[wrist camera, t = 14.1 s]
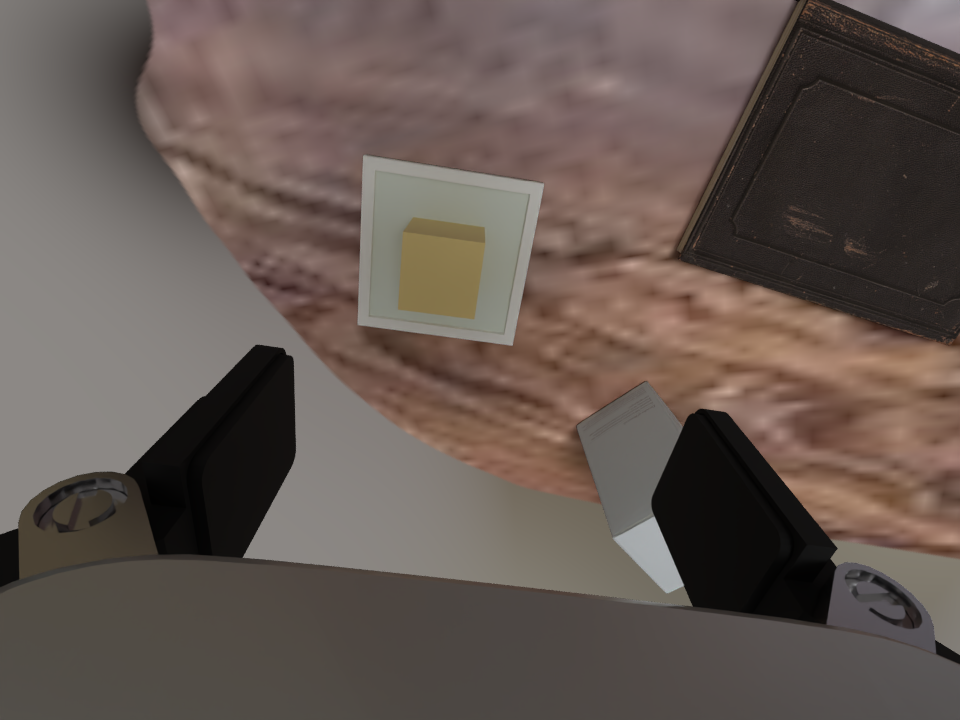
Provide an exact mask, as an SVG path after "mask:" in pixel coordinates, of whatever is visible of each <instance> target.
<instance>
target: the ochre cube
mask: <svg viewBox="0 0 960 720" xmlns="http://www.w3.org/2000/svg"><path fill="white" fill-rule="evenodd" d="M484 250H485V227H480V226H473V225H466V224H459V223H452V222H445V221H438V220H431V219H424V218H417V217H413V218H412V220H411V221H410V222H409V224H408V225H407V227H406V228H405V229H404V231H403V238H402V253H401V268H400V284H399V299H398V310H405V311H413V312H420V313H428V314H436V315H444V316H451V317H459V318H467V319H475V312H476V305H477V298H478V291H479V284H480V278H481V271H482V264H483V257H484Z"/></svg>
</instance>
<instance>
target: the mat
mask: <svg viewBox="0 0 960 720" xmlns="http://www.w3.org/2000/svg"><path fill="white" fill-rule="evenodd" d="M543 188H544V183H543V182H537V181H531V180H525V179H519V178H512V177H506V176H500V175H493V174H487V173H481V172H474V171H468V170H462V169H455V168H449V167H443V166H437V165H430V164H424V163H418V162H411V161H405V160H399V159H392V158H386V157H380V156H373V155H367V154H366V155H363V176H362V206H361V236H360V266H359V296H358V325H362V326H370V327H377V328H384V329H392V330H399V331H407V332H414V333H422V334H429V335H437V336H444V337H452V338H459V339H467V340H474V341H482V342H489V343H497V344H504V345H511V346H513V341H514V335H515V330H516V325H517V320H518V315H519V310H520V305H521V300H522V295H523V290H524V285H525V280H526V275H527V270H528V264H529V259H530V254H531V249H532V244H533V239H534V234H535V229H536V224H537V219H538V214H539V209H540V204H541V199H542V193H543ZM413 217H417V218H424V219H431V220H438V221H445V222H452V223H459V224H466V225H473V226H480V227H485V250H484V257H483V264H482V271H481V278H480V284H479V291H478V298H477V305H476V312H475V319H467V318H459V317H451V316H444V315H436V314H428V313H420V312H413V311H405V310H398V299H399V284H400V268H401V253H402V238H403V231H404V229H405V228H406V227H407V225H408V224H409V222H410V221H411V220H412V218H413Z"/></svg>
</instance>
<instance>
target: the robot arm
mask: <svg viewBox="0 0 960 720" xmlns="http://www.w3.org/2000/svg"><path fill="white" fill-rule="evenodd" d="M294 398H295V397H294V361H293V357H292V356H289V355H286V352H285V350H284V349H283V348H278V347H270V346H264V345H255V347H253V348H252V349H251V350H250V351H249V352H248V353H247V354H246V355H245V356H244V357H243V358H242V359H241V360H240V361H239V362H238V363H237V364H236V365H235V367H234V368H233V369H232V370H231V371H230V372H229V373H228V374H227V375H226V376H225V377H224V378H223V379H222V380H221V381H220V382H219V383H218V384H217V385H216V386H215V387H214V388H213V389H212V390H211V391H210V392H209V393H208V394H207V395H206V396H204V397H202V398H200V399H199V400H197V402H195V404H193V405H192V407H191V408H189V410H188V411H187V412H186V413H185V414H184V415H183V416H182V417H181V418H180V419H179V420H178V421H177V422H176V423H175V424H174V425H173V426H172V427H171V428H170V429H169V430H168V431H167V432H166V433H165V434H164V435H163V436H162V437H161V438H160V439H159V440H158V441H157V442H156V443H155V444H154V445H153V446H152V447H151V448H150V449H149V450H148V451H147V452H146V453H145V454H144V455H143V456H142V457H141V458H140V459H139V460H138V461H137V462H136V463H135V464H134V465H133V466H132V467H131V468H130V469H129V470H128V471H127V472H126V473H125V474H121V473H116V472H93V473H88V474H82V475H77V476H75V477H72V478H69V479H66V480H63V481H60V482H58V483H56V484H54V485H52V486H51V487H49V488H47V489H45V490H43V491H42V492H41V493H39V494H38V495H37V496H35V497H34V498H33V499H31V500H30V501H29V503H28V504H27V505H26V506H25V508H24V509H23V510H22V512H21V515H20V518H19V522H18V529H15V530H12V531H9V532H6V533H4V534H0V720H960V655H959V654H957V653H955V652H954V651H952V650H951V649H949V648H947V647H945V646H944V645H942V644H941V643H939V642H937V641H936V640H935V635H934V626H933V623H932V620H931V617H930V615H929V614H928V612H927V611H926V609H925V608H924V606H923V605H922V604H921V603H920V602H919V601H918V600H917V599H916V598H915V596H914V595H913V594H912V593H911V592H909V591H908V590H907V589H905V588H904V587H903V586H902V585H901V584H899V583H898V582H896V581H895V580H893V579H892V578H890V577H888V576H886V575H885V574H883V573H882V572H879V571H877V570H875V569H873V568H871V567H869V566H865V565H862V564H858V563H848V562H845V563H843V564H840V565H838V566H837V567H836V566H835V564H834V563H833V562H832V560H831V559H830V558H831V557H832V555H833V554H834V553H835V551H836V550H837V547H836V546H835V545H834V543H833V542H832V541H831V540H830V539H829V537H828V536H827V535H826V534H825V532H824V531H823V530H822V529H821V527H820V526H819V525H818V524H817V523H816V521H815V520H814V519H813V518H812V516H811V515H810V514H809V513H808V512H807V510H806V509H805V508H804V507H803V505H802V504H801V503H800V502H799V500H798V499H797V498H796V497H795V496H794V494H793V493H792V492H791V491H790V489H789V488H788V487H787V486H786V485H785V483H784V482H783V481H782V480H781V478H780V477H779V476H778V475H777V473H776V472H775V471H774V470H773V469H772V467H771V466H770V465H769V464H768V462H767V461H766V460H765V459H764V458H763V456H762V455H761V454H760V453H759V451H758V450H757V449H756V448H755V446H754V445H753V444H752V443H751V442H750V440H749V439H748V438H747V437H746V435H745V434H744V433H743V432H742V431H741V429H740V428H739V427H738V426H737V424H736V423H735V422H734V421H733V419H732V418H731V417H730V416H729V415H728V414H727V413H726V412H721V411H714V410H707V409H699V410H698V411H696V412H695V414H690V415H689V416H688V418H687V420H686V422H685V424H684V426H683V428H682V431H681V433H680V435H679V437H678V440H677V442H676V444H675V446H674V449H673V451H672V453H671V455H670V457H669V460H668V462H667V464H666V466H665V469H664V471H663V473H662V475H661V478H660V480H659V482H658V484H657V487H656V489H655V491H654V493H653V496H652V500H651V507H652V512H653V514H654V516H655V519H656V521H657V524H658V526H659V528H660V531H661V533H662V535H663V538H664V540H665V542H666V545H667V547H668V549H669V552H670V554H671V556H672V559H673V561H674V563H675V566H676V568H677V570H678V573H679V575H680V577H681V580H682V582H683V584H684V587H685V589H686V591H687V594H688V596H689V599H690V601H691V603H692V605H693V607H691V606H683V605H675V604H666V603H658V602H649V601H640V600H633V599H624V598H616V597H615V598H614V597H607V596H598V595H590V594H581V593H571V592H562V591H554V590H545V589H536V588H527V587H519V586H510V585H501V584H492V583H483V582H473V581H465V580H456V579H447V578H437V577H428V576H419V575H409V574H400V573H390V572H380V571H372V570H362V569H353V568H344V567H334V566H324V565H314V564H303V563H294V562H284V561H274V560H263V559H250V558H243V556H244V554H245V552H246V550H247V548H248V547H249V545H250V543H251V541H252V539H253V537H254V535H255V534H256V532H257V530H258V528H259V526H260V524H261V522H262V521H263V519H264V517H265V515H266V513H267V511H268V509H269V508H270V506H271V504H272V502H273V500H274V498H275V496H276V495H277V493H278V491H279V489H280V487H281V485H282V483H283V482H284V480H285V478H286V476H287V474H288V472H289V470H290V469H291V467H292V464H293V462H294V458H295V453H296V438H295V436H296V435H295V399H294Z"/></svg>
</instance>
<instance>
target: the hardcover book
mask: <svg viewBox="0 0 960 720" xmlns="http://www.w3.org/2000/svg"><path fill="white" fill-rule="evenodd" d="M796 1H798V4H797V6H796V8H795V10H794V12H793V14H792V16H791V18H790V20H789V22H788V24H787V26H786V28H785V30H784V32H783V34H782V36H781V38H780V40H779V42H778V44H777V46H776V48H775V50H774V52H773V54H772V56H771V58H770V60H769V62H768V64H767V67H766V69H765V71H764V73H763V75H762V77H761V79H760V81H759V83H758V85H757V87H756V89H755V91H754V93H753V95H752V97H751V99H750V101H749V103H748V105H747V107H746V109H745V111H744V113H743V115H742V117H741V119H740V121H739V123H738V126H737V128H736V130H735V132H734V134H733V136H732V138H731V140H730V142H729V144H728V146H727V148H726V150H725V152H724V154H723V156H722V158H721V160H720V162H719V164H718V166H717V168H716V170H715V172H714V174H713V176H712V178H711V180H710V182H709V184H708V187H707V189H706V191H705V193H704V195H703V197H702V199H701V201H700V203H699V205H698V207H697V209H696V211H695V213H694V215H693V217H692V219H691V221H690V223H689V225H688V227H687V229H686V231H685V233H684V235H683V237H682V239H681V241H680V243H679V246H678V248H677V251H679V252H680V253H681V254H680V256H679V258H678V259H679V260H681V261H684V262H688V263H691V264H694V265H697V266H700V267H703V268H706V269H710V270H713V271H716V272H719V273H722V274H725V275H728V276H731V277H735V278H738V279H741V280H744V281H747V282H750V283H753V284H757V285H760V286H763V287H766V288H769V289H772V290H775V291H779V292H782V293H785V294H788V295H791V296H794V297H797V298H801V299H804V300H807V301H810V302H813V303H816V304H819V305H822V306H826V307H829V308H832V309H835V310H838V311H841V312H844V313H848V314H851V315H854V316H857V317H860V318H863V319H866V320H870V321H873V322H876V323H879V324H882V325H885V326H888V327H892V328H895V329H898V330H901V331H904V332H907V333H910V334H913V335H917V336H920V337H923V338H926V339H929V340H932V341H935V342H939V343H942V344H945V345H948V346H949V345H950V344H951V343H952V342H953V341H954V340H955V338H956V337H957V336H958V335H959V334H960V54H958V53H956V52H954V51H951V50H949V49H946V48H944V47H942V46H939V45H937V44H935V43H932V42H930V41H927V40H925V39H923V38H920V37H918V36H916V35H913V34H911V33H908V32H906V31H904V30H901V29H899V28H897V27H894V26H892V25H889V24H887V23H885V22H882V21H880V20H878V19H875V18H873V17H870V16H868V15H866V14H863V13H861V12H859V11H856V10H854V9H851V8H849V7H847V6H844V5H842V4H840V3H837V2H835V1H832V0H796Z"/></svg>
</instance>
